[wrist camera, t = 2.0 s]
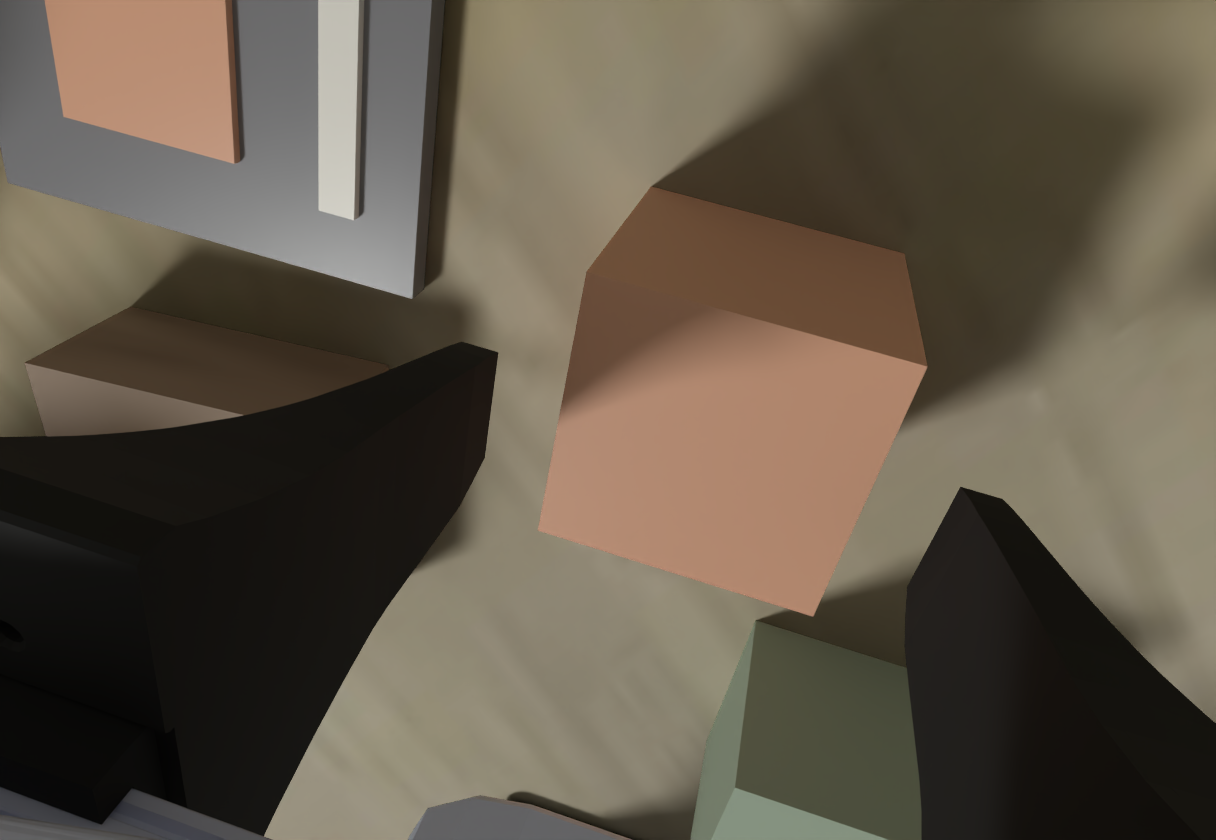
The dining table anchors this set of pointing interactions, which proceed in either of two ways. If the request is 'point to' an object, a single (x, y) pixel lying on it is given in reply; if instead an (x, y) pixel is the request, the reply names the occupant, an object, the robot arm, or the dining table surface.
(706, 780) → the sage block
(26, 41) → the card
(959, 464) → the dining table surface
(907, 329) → the terracotta block
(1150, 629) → the dining table surface
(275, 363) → the walnut base
